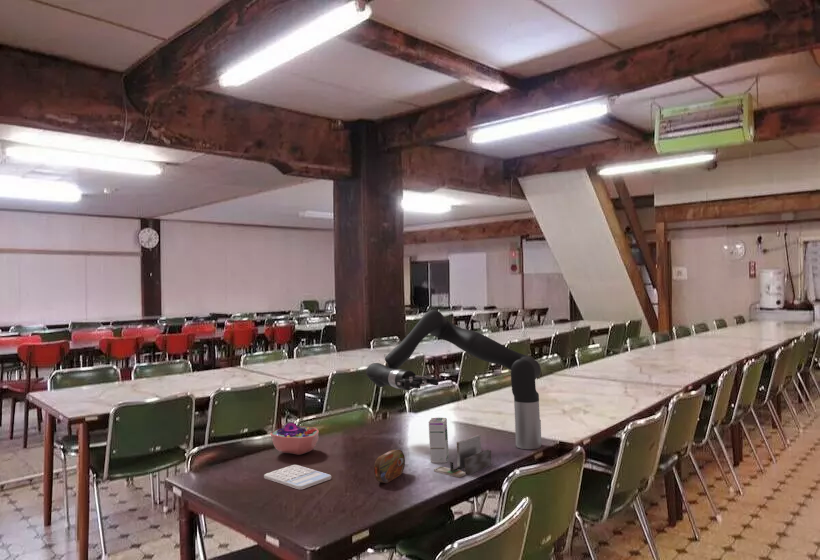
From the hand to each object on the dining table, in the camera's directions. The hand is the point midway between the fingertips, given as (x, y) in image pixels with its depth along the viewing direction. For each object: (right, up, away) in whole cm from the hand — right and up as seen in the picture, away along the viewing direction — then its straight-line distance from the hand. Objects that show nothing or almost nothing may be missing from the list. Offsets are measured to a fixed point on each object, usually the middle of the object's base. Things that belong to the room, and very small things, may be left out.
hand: (428, 384), depth 208 cm
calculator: (-44, -28, -20) cm, 56 cm away
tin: (-13, -26, -23) cm, 38 cm away
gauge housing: (+11, -25, -15) cm, 32 cm away
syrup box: (+4, -26, -6) cm, 27 cm away
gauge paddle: (+12, -25, -17) cm, 32 cm away
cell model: (-50, -28, +9) cm, 58 cm away
